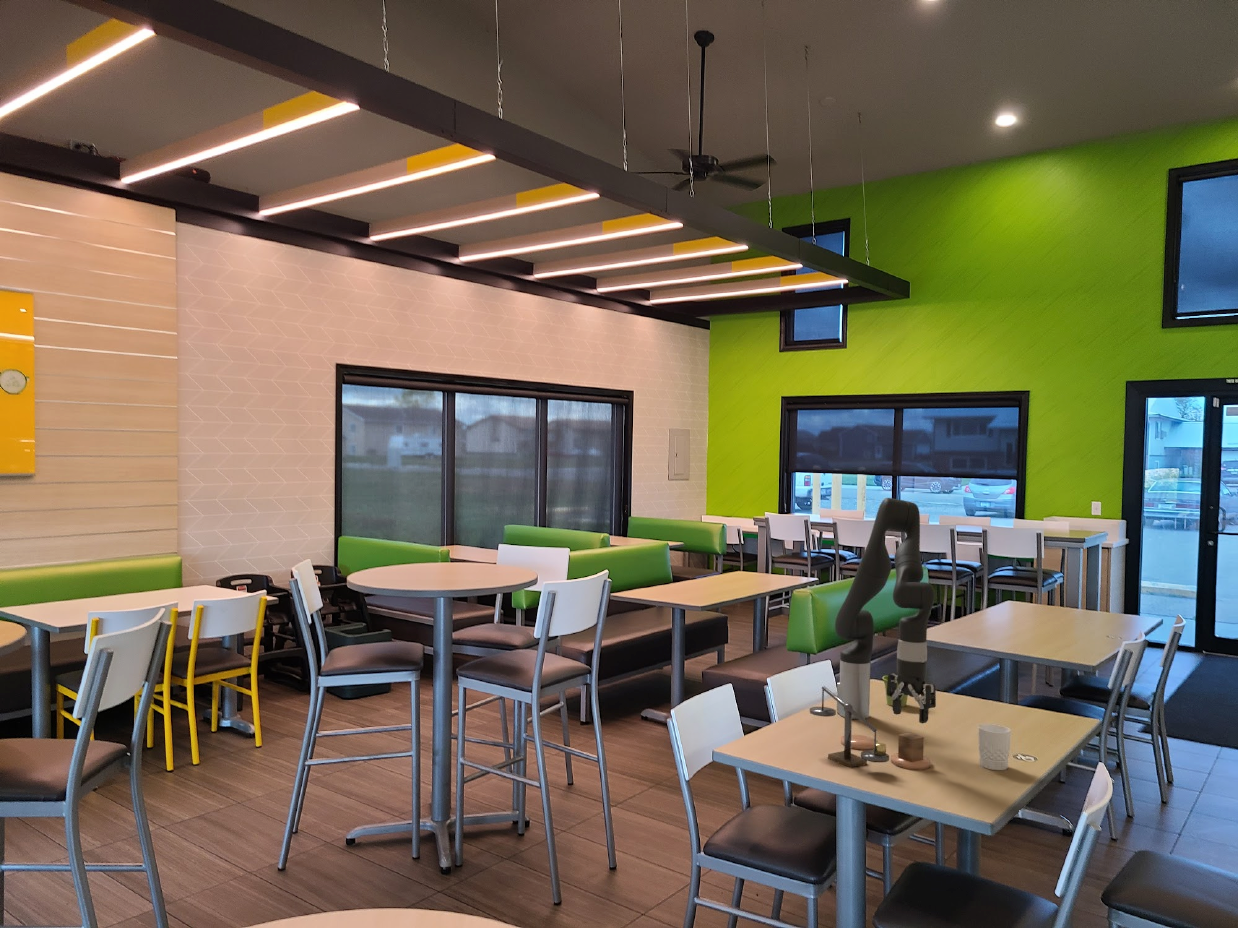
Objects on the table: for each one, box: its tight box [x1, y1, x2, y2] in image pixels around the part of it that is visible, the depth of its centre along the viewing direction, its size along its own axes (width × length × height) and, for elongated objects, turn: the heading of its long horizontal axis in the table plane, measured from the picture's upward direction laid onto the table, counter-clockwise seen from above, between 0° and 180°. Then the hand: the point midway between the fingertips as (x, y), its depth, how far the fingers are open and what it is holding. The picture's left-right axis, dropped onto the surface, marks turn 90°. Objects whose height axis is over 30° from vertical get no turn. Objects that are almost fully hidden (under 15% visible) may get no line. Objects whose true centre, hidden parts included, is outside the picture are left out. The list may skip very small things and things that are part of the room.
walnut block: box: [897, 732, 925, 762], centre depth 231 cm, size 4×4×6 cm
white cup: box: [977, 723, 1012, 771], centre depth 230 cm, size 8×8×10 cm
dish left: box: [840, 734, 879, 751], centre depth 247 cm, size 10×10×1 cm
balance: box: [809, 685, 890, 768], centre depth 232 cm, size 26×7×18 cm, turn 31°
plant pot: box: [881, 675, 909, 708], centre depth 291 cm, size 9×9×9 cm
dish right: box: [890, 752, 932, 771], centre depth 231 cm, size 10×10×1 cm
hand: (910, 718), depth 232 cm, fingers open, 8 cm apart
